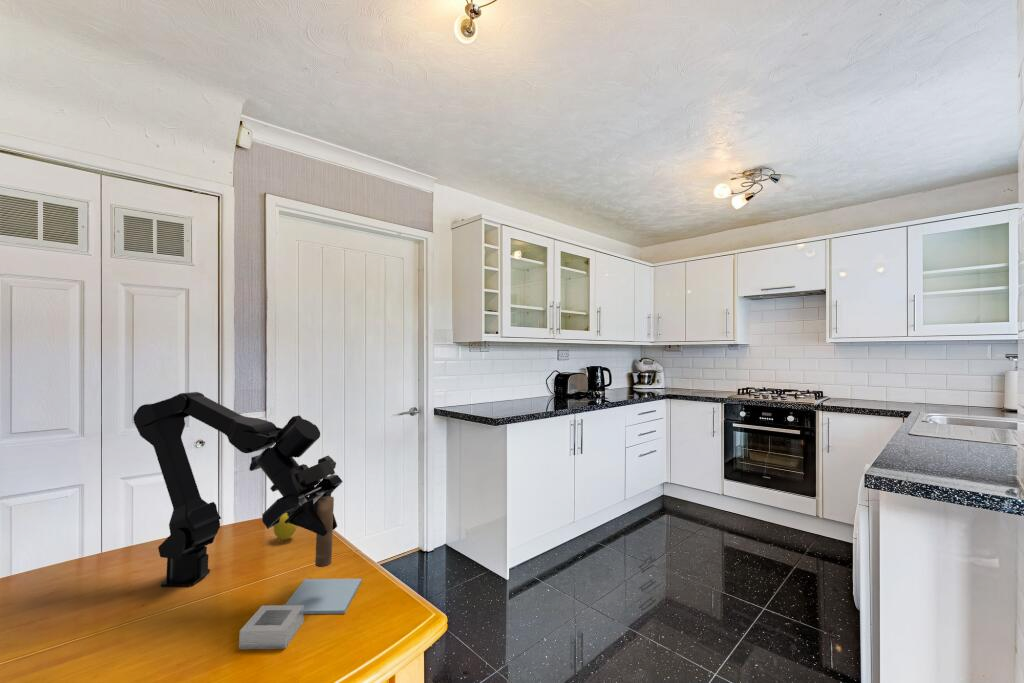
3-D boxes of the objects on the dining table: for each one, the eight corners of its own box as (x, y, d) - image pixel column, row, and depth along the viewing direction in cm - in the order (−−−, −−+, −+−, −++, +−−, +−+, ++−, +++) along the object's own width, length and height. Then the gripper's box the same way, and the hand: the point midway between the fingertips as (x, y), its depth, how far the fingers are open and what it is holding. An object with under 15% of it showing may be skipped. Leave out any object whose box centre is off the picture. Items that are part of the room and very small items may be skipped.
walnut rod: (315, 568, 88) (318, 501, 88) (315, 561, 91) (317, 497, 91) (331, 565, 89) (334, 500, 90) (330, 559, 92) (333, 495, 92)
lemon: (300, 536, 119) (302, 506, 119) (288, 545, 114) (289, 513, 114) (281, 535, 120) (282, 505, 120) (268, 544, 114) (269, 512, 114)
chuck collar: (238, 649, 74) (239, 630, 74) (261, 622, 82) (262, 605, 82) (285, 648, 74) (286, 630, 75) (303, 621, 82) (304, 605, 82)
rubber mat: (279, 614, 84) (279, 611, 84) (305, 581, 96) (305, 579, 96) (344, 613, 85) (344, 610, 85) (361, 581, 97) (361, 578, 97)
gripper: (278, 456, 82) (330, 522, 80) (336, 438, 101) (379, 491, 98) (239, 495, 84) (289, 561, 81) (303, 470, 102) (345, 524, 100)
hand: (330, 531), depth 90 cm, fingers closed on walnut rod, 3 cm apart
